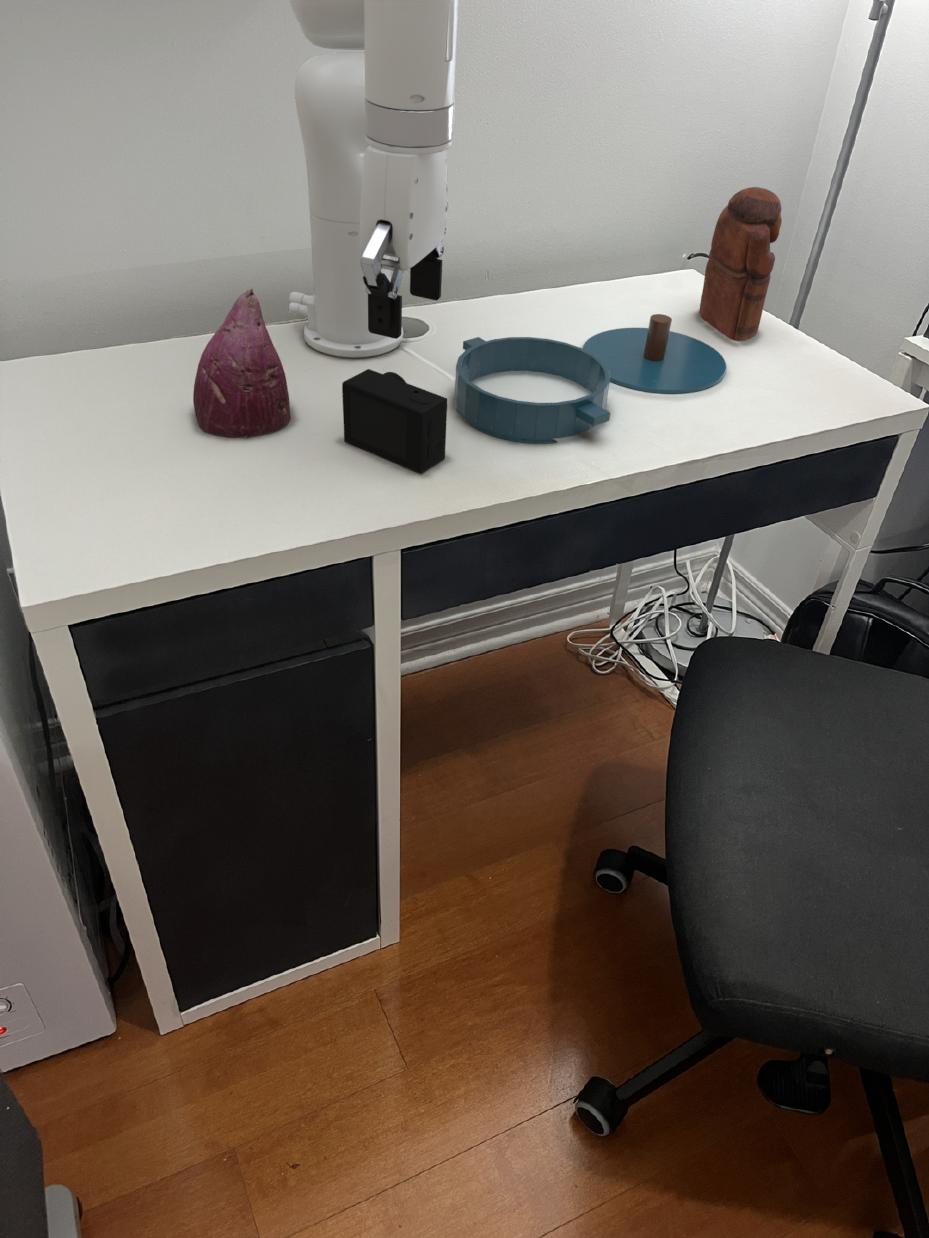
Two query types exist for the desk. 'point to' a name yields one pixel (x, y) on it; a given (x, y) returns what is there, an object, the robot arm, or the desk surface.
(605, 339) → the tin lid
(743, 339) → the wooden figurine
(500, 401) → the tin
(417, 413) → the digital camera
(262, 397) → the vegetable
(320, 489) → the desk surface
